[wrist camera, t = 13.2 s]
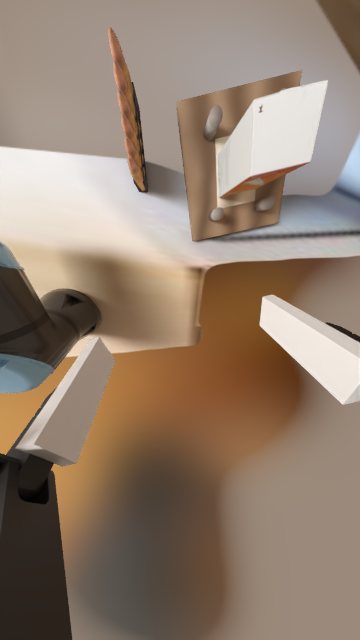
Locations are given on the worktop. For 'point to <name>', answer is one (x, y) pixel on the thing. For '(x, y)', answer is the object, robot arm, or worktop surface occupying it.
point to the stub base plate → (202, 163)
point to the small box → (271, 138)
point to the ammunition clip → (129, 115)
